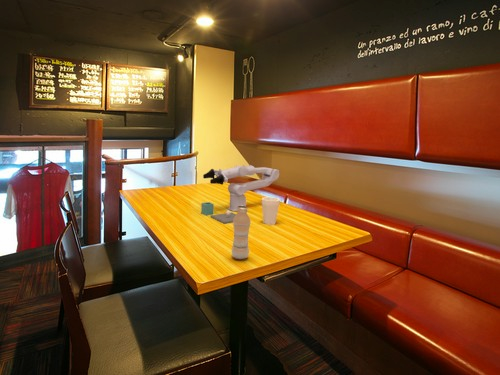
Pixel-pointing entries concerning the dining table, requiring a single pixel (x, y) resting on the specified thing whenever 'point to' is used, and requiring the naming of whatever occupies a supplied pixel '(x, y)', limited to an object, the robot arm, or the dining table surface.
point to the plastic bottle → (241, 233)
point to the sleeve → (207, 208)
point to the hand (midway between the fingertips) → (207, 179)
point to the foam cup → (270, 209)
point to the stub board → (224, 217)
